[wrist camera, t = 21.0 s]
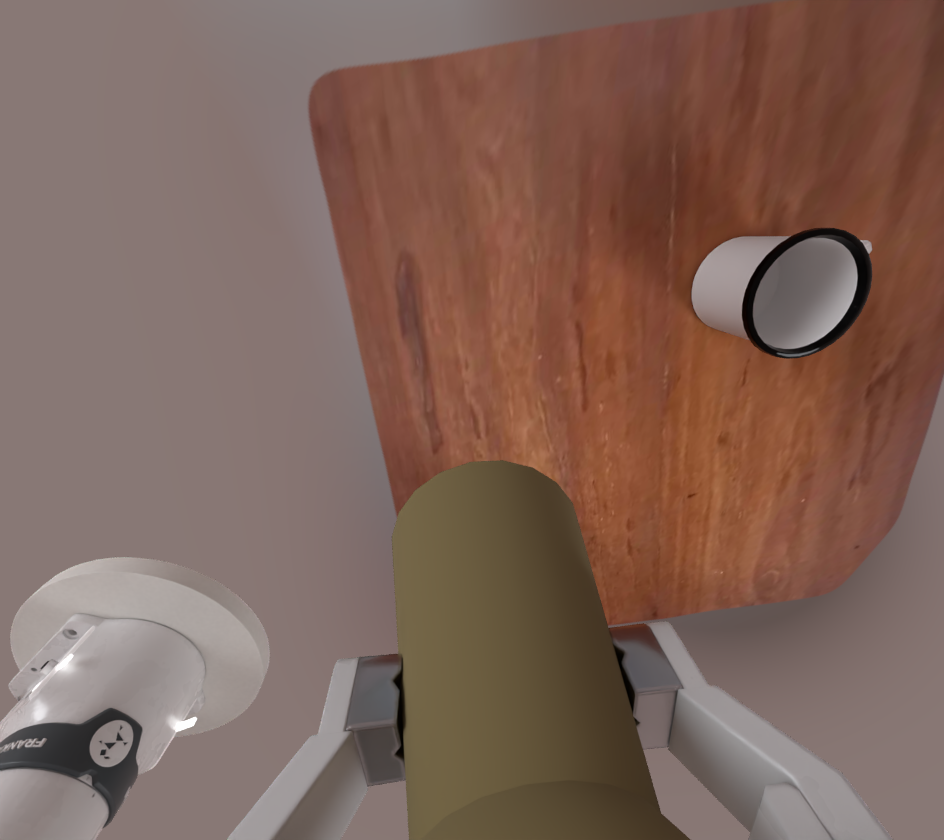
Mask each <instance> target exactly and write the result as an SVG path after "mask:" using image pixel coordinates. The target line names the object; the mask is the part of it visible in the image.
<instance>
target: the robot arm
mask: <svg viewBox="0 0 944 840" xmlns="http://www.w3.org/2000/svg"><path fill="white" fill-rule="evenodd" d="M608 629H609V633H610V636H611V640H612V643H613V647H614V650H615V653H616V657H617V660H618V664H619V667H620V671H621V674H622V678H623V681H624V685H625V688H626V692H627V695H628V699H629V702H630V706H631V709H632V713H633V716H634V720H635V723H636V727H637V730H638V734H639V737H640V741H641V744H642V748H643V750H644V749H654V748H664V747H669V748H668V750H669V751H670V752H671V753H672V754H673V755H674V756H675V757H676V758H677V759H678V760H679V761H680V762H681V763H682V764H683V765H684V766H685V767H686V768H687V769H688V770H689V771H690V772H691V773H692V774H693V775H694V776H695V777H696V778H697V779H698V780H699V781H700V782H701V783H702V784H703V785H704V786H705V787H706V788H707V789H708V790H709V791H710V792H711V793H712V794H713V795H714V796H715V797H716V798H717V799H718V800H719V801H720V802H721V803H722V804H723V805H724V806H725V807H726V808H727V809H728V810H729V811H730V812H731V813H732V815H733V816H734V817H735V818H736V819H737V820H738V821H739V822H740V823H741V824H742V825H743V826H744V827H745V828H746V829H747V830H748V831H749V832H750V836H749V839H748V840H893V839H892V838H891V836H890V835H889V833H888V832H887V831H886V829H885V828H884V827H883V826H882V824H881V823H880V822H879V820H878V819H877V818H876V816H875V815H874V814H873V812H872V811H871V810H870V808H869V807H868V806H867V805H866V803H865V802H864V801H863V800H862V798H861V797H860V795H859V794H858V793H857V791H856V790H855V789H854V788H853V786H852V785H851V784H850V782H849V781H848V780H847V778H846V777H845V776H844V775H843V773H842V772H840V771H839V770H837V769H836V768H834V767H833V766H832V765H830V764H829V763H827V762H826V761H824V760H823V759H821V758H820V757H819V756H817V755H816V754H814V753H813V752H811V751H810V750H809V749H807V748H806V747H804V746H803V745H801V744H800V743H798V742H797V741H796V740H794V739H793V738H791V737H790V736H788V735H787V734H786V733H784V732H783V731H781V730H780V729H778V728H777V727H776V726H774V725H773V724H771V723H770V722H768V721H767V720H766V719H764V718H763V717H761V716H760V715H758V714H757V713H755V712H754V711H753V710H751V709H750V708H748V707H747V706H745V705H744V704H743V703H741V702H740V701H738V700H737V699H735V698H734V697H733V696H731V695H730V694H728V693H727V692H725V691H724V690H723V689H721V688H720V687H718V686H717V685H711V686H709V684H708V682H707V681H706V679H705V678H704V676H703V674H702V673H701V671H700V670H699V668H698V666H697V665H696V663H695V662H694V660H693V658H692V657H691V655H690V654H689V652H688V650H687V649H686V647H685V646H684V644H683V642H682V641H681V639H680V638H679V636H678V634H677V633H676V631H675V630H674V628H673V626H672V625H671V624H670V623H669V622H667V621H664V622H655V623H647V624H644V623H643V624H636V625H628V626H620V627H613V628H608ZM205 673H206V668H205V663H204V660H203V657H202V655H201V654H200V652H199V651H198V649H197V648H196V647H195V646H194V645H193V644H192V643H191V642H190V641H189V640H188V639H187V638H185V637H184V636H182V635H181V634H179V633H178V632H176V631H174V630H172V629H170V628H168V627H165V626H163V625H160V624H157V623H153V622H149V621H145V620H138V619H105V618H101V617H97V616H93V615H89V614H82V613H78V614H75V615H73V616H72V617H71V618H70V619H69V620H68V621H67V622H66V623H65V624H64V625H63V626H62V627H61V628H60V629H59V630H58V631H57V632H56V633H55V634H54V635H53V637H52V638H51V639H50V640H49V641H48V642H47V643H46V644H45V645H44V646H43V647H42V648H41V649H40V650H39V651H38V652H37V653H36V654H35V655H34V657H33V658H32V659H31V660H30V661H29V662H28V663H27V664H26V665H25V666H24V667H23V668H22V669H21V670H20V671H19V672H18V673H17V674H16V676H15V677H14V678H13V679H12V681H11V682H10V683H9V685H8V687H9V689H10V691H11V693H12V694H13V696H14V697H15V698H16V699H17V700H18V701H19V702H18V703H17V704H16V705H15V706H14V707H13V709H12V710H11V711H10V712H9V713H8V714H7V715H6V716H5V717H4V719H3V720H2V721H1V722H0V840H96V838H97V836H98V835H99V833H100V831H101V830H102V829H103V828H104V827H106V826H107V825H108V824H109V823H110V822H111V821H112V819H113V818H114V816H115V814H116V813H117V811H118V810H119V809H120V808H121V807H122V805H123V803H124V801H125V800H126V798H127V797H128V795H129V792H130V789H131V788H132V785H133V784H134V782H135V780H136V778H137V776H138V775H139V774H142V773H144V772H146V771H148V770H151V769H152V768H153V767H155V765H156V764H157V763H158V761H159V760H160V758H161V757H162V755H163V753H164V752H165V750H166V749H167V747H168V745H169V744H170V742H171V741H172V739H173V737H174V736H175V734H176V733H177V731H180V730H183V729H186V728H188V727H191V726H194V724H195V722H196V720H197V718H196V717H194V718H192V719H189V720H186V721H184V720H185V718H186V716H188V715H191V714H194V713H197V712H199V711H200V710H201V708H202V707H203V705H204V703H205V695H204V692H203V690H202V685H203V681H204V678H205ZM401 677H402V654H389V655H378V656H368V657H357V658H348V659H339V660H338V661H337V663H336V665H335V667H334V670H333V674H332V678H331V682H330V686H329V691H328V695H327V699H326V703H325V707H324V711H323V715H322V719H321V724H320V728H319V732H318V735H313V736H310V738H309V739H308V740H307V741H306V743H305V744H304V745H303V746H302V747H301V749H300V750H299V751H298V752H297V754H296V755H295V756H294V757H293V758H292V760H291V761H290V762H289V763H288V765H287V766H286V767H285V768H284V770H283V771H282V772H281V773H280V774H279V776H278V777H277V778H276V779H275V781H274V782H273V783H272V784H271V786H270V787H269V788H268V789H267V790H266V792H265V793H264V794H263V795H262V797H261V798H260V799H259V800H258V801H257V803H256V804H255V805H254V806H253V808H252V809H251V810H250V811H249V813H248V814H247V815H246V816H245V817H244V819H243V820H242V821H241V822H240V824H239V825H238V826H237V827H236V829H235V830H234V831H233V832H232V834H231V835H230V836H229V837H228V838H227V840H341V838H342V836H343V834H344V832H345V831H346V829H347V827H348V825H349V823H350V821H351V820H352V818H353V816H354V814H355V812H356V811H357V809H358V807H359V805H360V803H361V802H362V800H363V798H364V796H365V794H366V792H367V791H368V788H367V787H368V786H373V785H380V784H386V783H392V782H398V781H404V780H406V776H405V759H404V741H403V724H402V706H401V689H400V682H401Z"/></svg>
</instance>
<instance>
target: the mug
mask: <svg viewBox="0 0 944 840" xmlns="http://www.w3.org/2000/svg"><path fill="white" fill-rule="evenodd" d="M871 251H872V246H871V242H869V241H867V240H859V239H858V238H857V237H856V236H854V235H852V234H850V233H849V232H847V231H844V230H840V229H835V228H814V229H810V230H805V231H802V232H800V233H797V234H795V235H793V236H745V237H738V238H734V239H731V240H729V241H726V242H724V243H722V244H721V245H719V246H718V247H717V248H715V249H714V250H713V251H712V252H711V253H710V254H709V255H708V256H707V257H706V258H705V260H704V261H703V262H702V263H701V265H700V267H699V269H698V271H697V273H696V275H695V278H694V281H693V286H692V303H693V308H694V310H695V312H696V314H697V316H698V317H699V318H700V320H701V321H702V322H703V323H705V324H706V325H707V326H709V327H712V328H714V329H717V330H720V331H723V332H726V333H729V334H732V335H735V336H738V337H741V338H744V339H747V340H750V341H751V342H752V343H753V345H754V346H755V347H757V348H758V349H759V350H761V351H762V352H764V353H766V354H769V355H771V356H775V357H780V358H800V357H804V356H809V355H811V354H814V353H816V352H819V351H821V350H823V349H824V348H826V347H828V346H829V345H831V344H832V343H834V342H835V341H836V340H837V339H839V338H840V337H841V336H842V335H843V334H844V333H845V332H846V331H847V330H848V329H849V328H850V327H851V326H852V325H853V323H854V322H855V320H856V319H857V317H858V316H859V314H860V313H861V311H862V309H863V307H864V305H865V303H866V301H867V298H868V295H869V292H870V288H871V281H872V264H871V260H870V257H869V253H870V252H871Z"/></svg>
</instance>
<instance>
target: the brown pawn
mask: <svg viewBox="0 0 944 840" xmlns="http://www.w3.org/2000/svg"><path fill="white" fill-rule="evenodd" d="M392 550H393V567H394V585H395V602H396V619H397V637H398V654H402V677H401V682H400V689H401V706H402V724H403V741H404V759H405V776H406V791H407V811H408V828H409V840H690V839H689V838H688V837H687V836H686V835H685V834H683V833H682V832H681V831H680V830H679V829H678V828H677V827H676V826H675V825H673V824H672V823H671V822H670V821H669V820H668V819H667V818H666V817H665V816H663V815H662V814H661V811H660V808H659V804H658V801H657V797H656V794H655V790H654V787H653V783H652V780H651V776H650V773H649V769H648V766H647V763H646V759H645V755H644V752H643V748H642V744H641V741H640V737H639V734H638V730H637V727H636V723H635V720H634V716H633V713H632V709H631V706H630V702H629V699H628V695H627V692H626V688H625V685H624V681H623V678H622V674H621V671H620V667H619V664H618V660H617V657H616V653H615V650H614V647H613V643H612V640H611V636H610V633H609V629H608V625H607V621H606V618H605V614H604V611H603V607H602V604H601V600H600V597H599V593H598V590H597V586H596V583H595V579H594V576H593V572H592V569H591V565H590V562H589V558H588V555H587V551H586V548H585V544H584V541H583V537H582V534H581V530H580V527H579V523H578V520H577V516H576V513H575V510H574V506H573V503H572V502H571V500H570V499H569V498H568V496H567V495H566V494H565V493H564V491H563V490H562V489H561V488H560V486H559V485H558V484H557V483H556V482H555V481H553V480H552V479H550V478H548V477H547V476H545V475H544V474H542V473H540V472H539V471H537V470H535V469H534V468H532V467H528V466H523V465H519V464H515V463H511V462H507V461H503V460H502V461H482V462H469V463H467V464H464V465H461V466H458V467H455V468H452V469H449V470H446V471H443V472H440V473H439V474H438V475H436V476H435V477H433V478H432V479H430V480H429V481H428V482H426V483H425V484H423V485H422V486H421V487H419V488H418V489H416V490H415V492H414V493H413V494H412V496H411V497H410V498H409V500H408V501H407V502H406V504H405V505H404V506H403V508H402V509H401V510H400V512H399V514H398V518H397V521H396V525H395V528H394V532H393V535H392Z"/></svg>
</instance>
